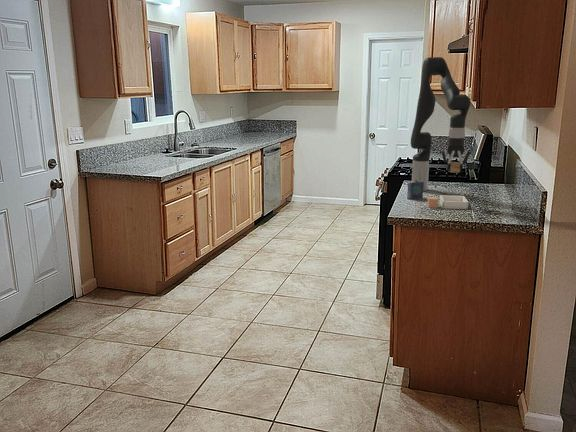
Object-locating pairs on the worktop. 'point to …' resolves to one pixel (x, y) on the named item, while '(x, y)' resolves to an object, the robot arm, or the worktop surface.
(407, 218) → the worktop surface
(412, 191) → the flask
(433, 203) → the terracotta block
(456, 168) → the walnut block
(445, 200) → the tray
